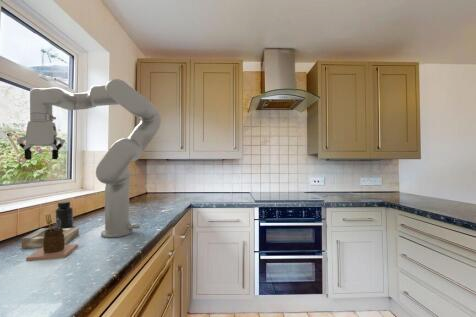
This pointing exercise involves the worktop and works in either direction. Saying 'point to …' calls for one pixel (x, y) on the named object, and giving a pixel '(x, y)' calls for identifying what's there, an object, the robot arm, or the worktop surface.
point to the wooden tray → (38, 236)
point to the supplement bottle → (64, 215)
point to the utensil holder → (53, 238)
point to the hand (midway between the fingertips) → (41, 159)
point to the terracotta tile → (60, 254)
